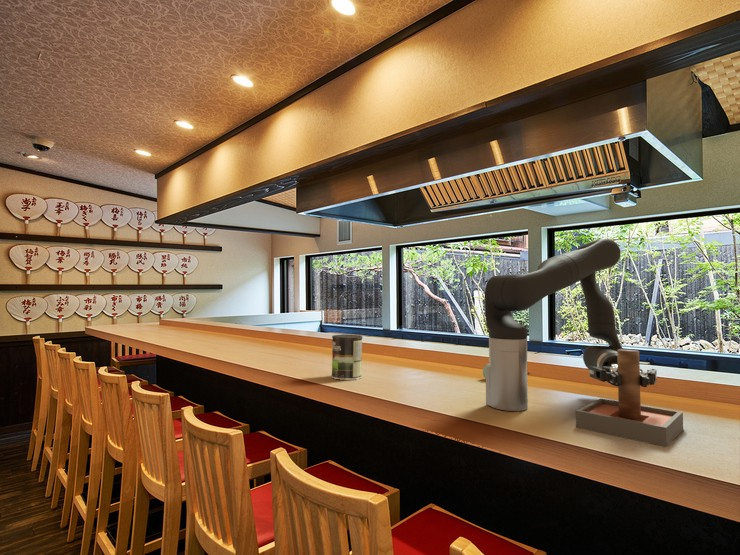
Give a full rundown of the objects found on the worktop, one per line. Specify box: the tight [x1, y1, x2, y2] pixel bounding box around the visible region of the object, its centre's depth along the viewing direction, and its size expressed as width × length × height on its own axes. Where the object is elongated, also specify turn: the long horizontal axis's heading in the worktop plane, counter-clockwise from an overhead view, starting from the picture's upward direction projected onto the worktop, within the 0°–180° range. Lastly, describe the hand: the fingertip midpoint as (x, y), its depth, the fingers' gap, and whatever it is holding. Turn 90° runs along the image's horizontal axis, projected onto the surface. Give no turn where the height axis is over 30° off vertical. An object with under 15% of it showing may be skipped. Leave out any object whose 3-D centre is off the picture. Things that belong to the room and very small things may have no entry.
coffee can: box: [331, 334, 363, 381], centre depth 142 cm, size 10×10×14 cm
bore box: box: [575, 398, 684, 448], centre depth 89 cm, size 16×16×4 cm
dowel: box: [617, 348, 642, 420], centre depth 89 cm, size 4×4×14 cm
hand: (631, 381), depth 87 cm, fingers closed on dowel, 4 cm apart
